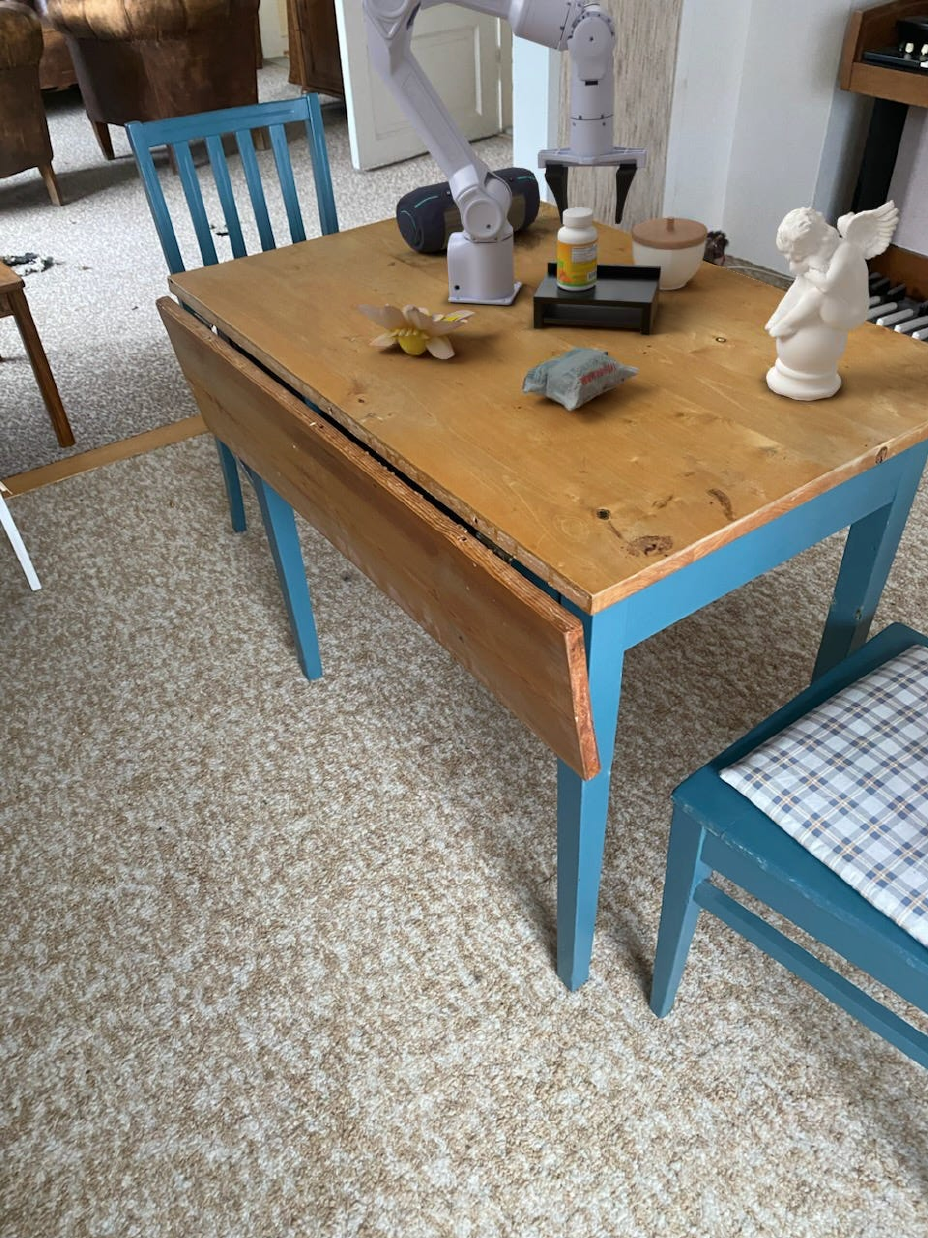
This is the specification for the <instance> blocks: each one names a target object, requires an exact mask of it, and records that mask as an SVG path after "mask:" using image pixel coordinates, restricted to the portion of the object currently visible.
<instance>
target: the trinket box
mask: <svg viewBox="0 0 928 1238" xmlns="http://www.w3.org/2000/svg"><path fill="white" fill-rule="evenodd" d="M708 233H709V231H708V228H707V226H706V225H704V223H701V222H699V221H696V220H693V219H690V218H684V217H683V218H682V217H675V216H667V217H657V218H652V219H647V220H643V221H641V222H639V223H638V224H636V225H635V226H634V227H633V228H632V229H631V238H632V240H631V249H632V250H631V253H632V254H631V256H632V261H633V265H642V266H661V277H660V290H659V291H673V290H679V289H681V288H683V287H685V286H686V285H687V283H688V282H689V281H690V280H691V279H692V278H693V277H694V276H695V275H696V274H697V272H698V271H699V269H700V267H701V264H702V262H703V259H704V255H705V250H706V244H707V242H706V241H707V238H708V235H709V234H708Z"/></svg>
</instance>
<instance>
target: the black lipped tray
mask: <svg viewBox="0 0 928 1238" xmlns="http://www.w3.org/2000/svg"><path fill="white" fill-rule="evenodd" d="M546 267H547V271H546V274H544V277H543V279H542V280H541V282H540V284H539V285H538V288H537V289H536V290H535V293H534V294H533V297H532V301H533V304H532V305H533V306H532V307H533V309H532V312H533V313H532V314H533V319H532V320H533V329H543V327H544V325H545V324H554V325H555V324H556V325H572V326H574V325H575V326H590V327H607V328H608V327H610V328H623V329H624V328H625V329H626V328H627V329H640V335H641V336H642V335H643V336H644V335H646V336H649V335H650V334H651V330H652V329H653V324H654V321H655V318H656V314H657V311H658V308H659V302H660V291H661V290H660V277H661V266H642V265H634V264H616V263H612V264H611V263H597V274H596V283H595V285H594V286H593V287H591V288H589V289H586V290H581V291H570V290H565V289H562V288H561V287H559V286H558V284H557V261H547V266H546Z"/></svg>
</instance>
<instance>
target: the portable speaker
mask: <svg viewBox="0 0 928 1238" xmlns="http://www.w3.org/2000/svg"><path fill="white" fill-rule="evenodd" d="M491 171H492V172H493V173H494V174H495V175H496V176H498V177H499V178H501V179H503V180H504V181H505V182H506V183H507V184H508V186H509V187H510V190H511V193H512V204H511V207H510V210H509V211H508V214H507V220H508V222H509V224H510V225H511V226H512V227H513V233H515V232H520V231H523V230H525V229H528V228H530V226H532V224H533V223H534V222H535V221H536V219H537V217H538V215H539V213H540V206H541V192H540V185H539V184H540V183H539V181H538V179H537V177H536V175H535V173H534V172H532V171H531V170H530V169H527V168H524V167H515V166H513V167H506V168H502V169H497V170H491ZM395 217H396V218H395V219H396V223H397V227H398V230H399V232H400V235H401V237H402V239H403V240H404V241H405V243H406V244H407V245H408V247H410V249H412V250H414V251H417V252H420V253H431V252H438V251H442V250H448V242H449V239H450V236H451V234H452V233H455V232H463V230H464V227H463V224H462V220H461V213H460V210H459V208H458V206H457V204H456V203H455V201H454V199H453V196H452V192H451V188H450V185H449V182H448V180H447V181H443V182H437V183H433V184H429V185H423V186H419V187H417V188H415V189H412V190H411V191H409V192H407V193H405V194H404V195H402V196H401V198H400V199H399V200H398V202H397V204H396V207H395Z"/></svg>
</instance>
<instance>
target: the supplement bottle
mask: <svg viewBox="0 0 928 1238" xmlns="http://www.w3.org/2000/svg"><path fill="white" fill-rule="evenodd" d="M593 222H594V211H593V209H592V208H589V207H585V206H575V207H568V209H566V210H565V211H564V212H563V224H562V225H563V226H562V227H560V228H559V230H558V231H557V238H556V239H557V243H556V244H557V246H556V248H557V249H556V251H557V254H556V256H557V258H556V262H557V284H558V286H559V287H561V288H562V289H565V290H570V291H581V290H586V289H589V288H591V287H593V286H594V285H595V283H596V274H597V264H598V241H599V240H598V239H599V235H598V230H597V228H596V227H595V226H594V225H592V224H593Z"/></svg>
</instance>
